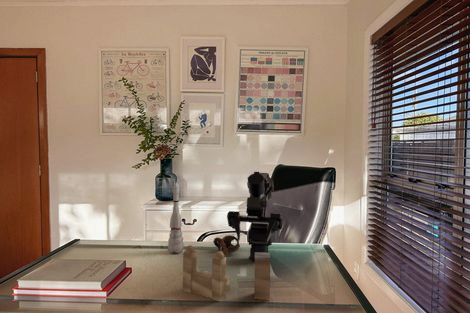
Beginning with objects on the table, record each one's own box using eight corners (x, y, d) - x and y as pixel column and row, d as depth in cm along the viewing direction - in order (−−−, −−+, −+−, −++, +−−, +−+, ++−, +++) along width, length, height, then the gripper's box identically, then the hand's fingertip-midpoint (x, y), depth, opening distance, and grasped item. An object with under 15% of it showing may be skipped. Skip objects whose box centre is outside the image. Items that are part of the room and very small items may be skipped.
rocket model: (164, 251, 140) (164, 181, 139) (179, 248, 144) (180, 181, 143) (171, 256, 134) (172, 183, 133) (187, 252, 138) (188, 182, 137)
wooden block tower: (199, 281, 108) (199, 239, 108) (235, 290, 101) (235, 246, 101) (182, 290, 101) (183, 245, 101) (220, 301, 94) (220, 253, 94)
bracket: (254, 293, 100) (254, 252, 100) (269, 293, 100) (269, 252, 99) (254, 299, 95) (254, 257, 95) (269, 300, 95) (270, 257, 95)
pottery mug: (240, 250, 144) (243, 236, 140) (234, 266, 136) (237, 252, 132) (215, 241, 146) (217, 228, 142) (207, 256, 138) (209, 242, 134)
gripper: (228, 187, 114) (221, 223, 102) (282, 189, 110) (281, 226, 99) (232, 208, 121) (225, 244, 109) (282, 210, 118) (281, 247, 106)
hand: (252, 240), depth 106 cm, fingers open, 9 cm apart
